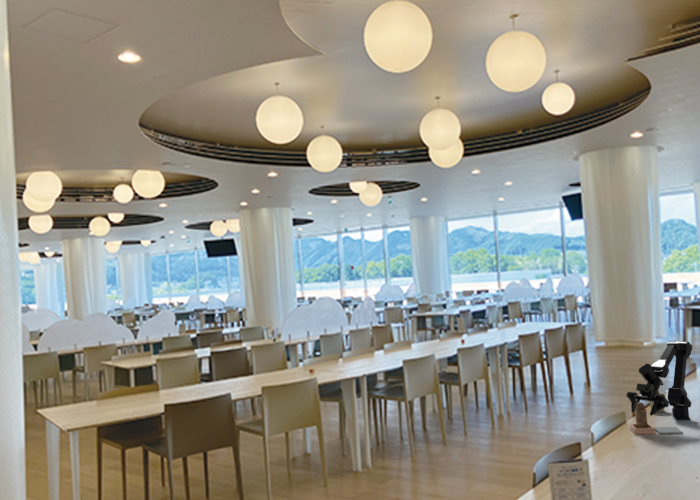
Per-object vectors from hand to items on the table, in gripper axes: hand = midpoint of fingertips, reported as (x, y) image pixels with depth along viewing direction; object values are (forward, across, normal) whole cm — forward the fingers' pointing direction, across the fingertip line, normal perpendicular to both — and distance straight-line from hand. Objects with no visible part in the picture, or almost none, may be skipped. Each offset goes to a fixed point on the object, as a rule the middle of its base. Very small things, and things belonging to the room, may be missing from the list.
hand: (641, 413), depth 284 cm
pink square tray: (+6, 0, +6) cm, 8 cm away
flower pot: (-24, -17, +36) cm, 47 cm away
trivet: (+1, +8, +11) cm, 14 cm away
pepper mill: (+6, 0, +6) cm, 8 cm away
